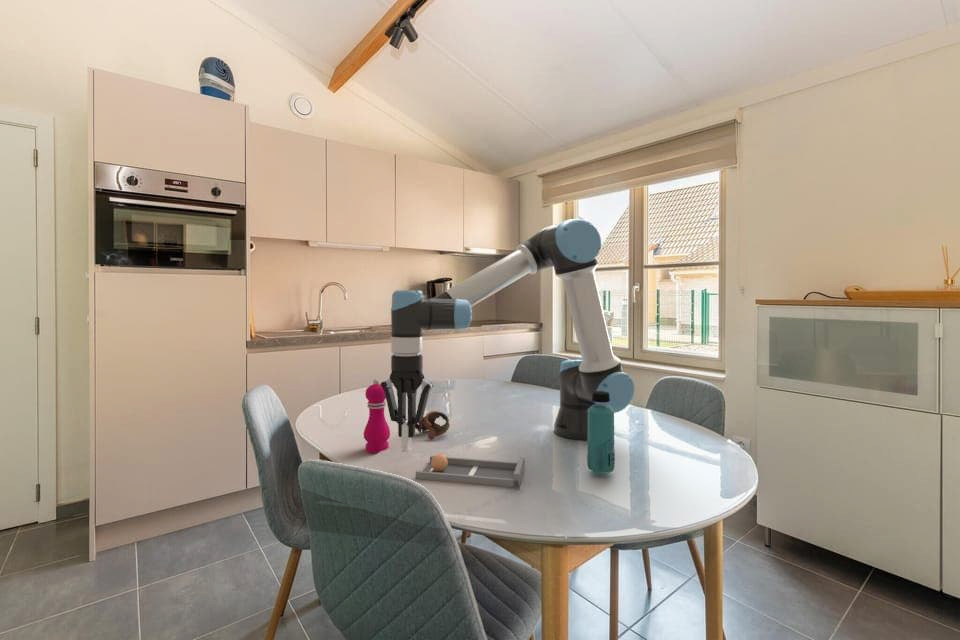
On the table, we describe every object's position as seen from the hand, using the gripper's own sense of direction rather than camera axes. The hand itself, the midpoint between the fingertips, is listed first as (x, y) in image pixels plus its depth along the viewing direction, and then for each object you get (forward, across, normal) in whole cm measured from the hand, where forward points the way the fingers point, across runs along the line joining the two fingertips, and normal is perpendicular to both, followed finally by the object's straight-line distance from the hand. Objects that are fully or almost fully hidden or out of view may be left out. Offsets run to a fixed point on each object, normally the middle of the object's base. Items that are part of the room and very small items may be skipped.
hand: (406, 449), depth 110 cm
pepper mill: (+6, +14, -13) cm, 19 cm away
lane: (+5, -16, 0) cm, 17 cm away
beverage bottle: (+5, -46, -8) cm, 47 cm away
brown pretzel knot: (+5, +4, -29) cm, 30 cm away
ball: (+5, -8, 0) cm, 9 cm away
